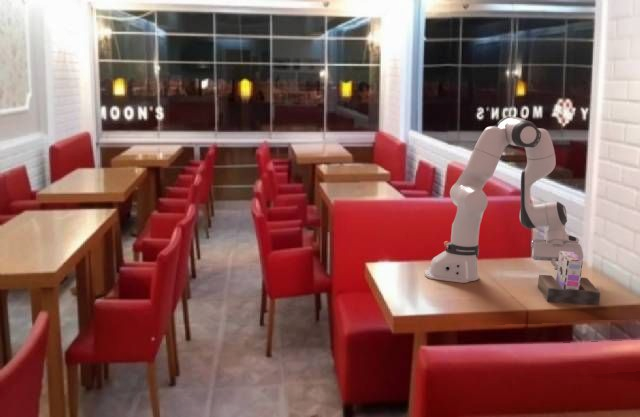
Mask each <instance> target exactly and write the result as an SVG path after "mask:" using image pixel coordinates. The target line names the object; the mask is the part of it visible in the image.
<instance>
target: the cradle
mask: <svg viewBox="0 0 640 417" xmlns="http://www.w3.org/2000/svg"><path fill="white" fill-rule="evenodd" d="M537 282H538V283H537V288H538V289H539V291H540V292H541V294H542V295H543V297H544V299H545V301H546V302H549V303H559V302H563V303H562V304H573V305H574V304H575V305H577V304H578V305H587V306H588V305H589V306H600V305H599V304H600V298H601V297H600V296H601V292H600V291H599V290H598V289H597V287H596V286H595V285H594V284H593V283H592V282H591V281H590V279H588V277H581V279H580V287H579V290H574V289H561V287H560V286H559V285H558V283H557V282H556V279H555V278H554V277H553V275H550V274H548V275H547V274H538V280H537Z"/></svg>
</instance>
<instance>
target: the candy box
mask: <svg viewBox="0 0 640 417" xmlns="http://www.w3.org/2000/svg"><path fill="white" fill-rule="evenodd" d="M557 265H558V269H557V270H556V272H557V273H556V279H555V281H556V282H557V283H558V285H559V286H560V287H561V289H574V290H579V287H580V279H581V278H582V269H583V260H581V259H580V258H579V257H578V256H577V255H576V254H575V253H574V252H567V251H559V259H558V261H557Z"/></svg>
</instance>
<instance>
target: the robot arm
mask: <svg viewBox="0 0 640 417" xmlns="http://www.w3.org/2000/svg"><path fill="white" fill-rule="evenodd" d="M553 144H554V143H553V140H552V138H551V135H550V132H549V131H548V130H547V129H545V128H542V127H541V128H539V127H537V126H536V124H534V122H532V121H529V120H527V119H524V118H522V117H517V116H505V117H503V118H502V119H500V120H499V121H498V122H497V123H496V124H495V125H491V126H487V127H485V129H484V130H483V131H482V132H481V134H480V136H479V138H478V139H477V142H476V144H475V146H474V147H473V148H474V149H473V150H472V152H471V154H470V156H469V160H468V162H467V164H466V165H465V167H464V169H463V171H462V173H461V174H460V175H459V177H458V179H457V180H456V182H455V183H454V184H453V185H451V188H450V190H449V196H450V199H451V202H452V204H454V206H456V214H455V217H454V220H453V222H452V224H451V234H450V241H448V240H446V241H444V242H443V245H444V247H445V248H444V251H442V252H441V253H439V254H437V255H436V256H434V257H433V258H432V259H431V262H430V266H429V267H425V269H424V271H423V272H424V276H425V277H426V278H428V279H430V280H436V281H437V280H438V281H447V282H455V283H459V284H460V283H461V284H466V283H469V282H473V281H477V280H479V279H480V276H479V269H478V257H479V252H480V245H479V236H480V228H481V223H482V219H483V216H484V212H485V211H486V209H487V207H488V204H489V199H488V197H487V194H486V193H485V191H484V190H483V188H484V186H486V184H487V183H488V181H489V180H490V179H491V178H492V177H493V176H494V173H495V171H496V168H497V166H498V164H499V162H500V160H501V158H502V154H503V152H504V150H505V149H506V147H508V146H509V145H511V146H515V147H519V148H523V149H524V150H525V155H526V165H525V168H524V169H523V170H522V171H521V176H520V210H519V222H520V224H521V226H523V227H524V228H525V229H528V230H532V229H537V228H541V227H542V228H543V229H544V239H537V238H536V239H533V240H531V241H530V247H531V249H532V252H531V258H532V259H533V260H535V261H545V262H550V263H551V265H553V267H554V268H553V270H556V271H557V269H558V263H556V262H558V259H559V251H567V252H574V253H575V254H576V255H577V256H578V257H579V258H580V259H581V260H582V261H583V259H584V252H583V248H582V246H581V244H580V243H579V241H580V239H579V238H578V237H577V236H573V235H570V234H568V233H567V232H566V231H567V230H566V224H567V222H568V219H567V217H568V216H567V209H566V206H565V205H564V204H563V203H561V202H559V201H550V202H544V203H537V204H532V203H531V188H532V185H533V184H535V183H536V182H538V181H540V180H541V179H544V178H545V177H547V176H548V175H550V174H551V173H552V172H553V170H554V169H555V167H556V164H557V163H556V153H555V148H554V145H553Z"/></svg>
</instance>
